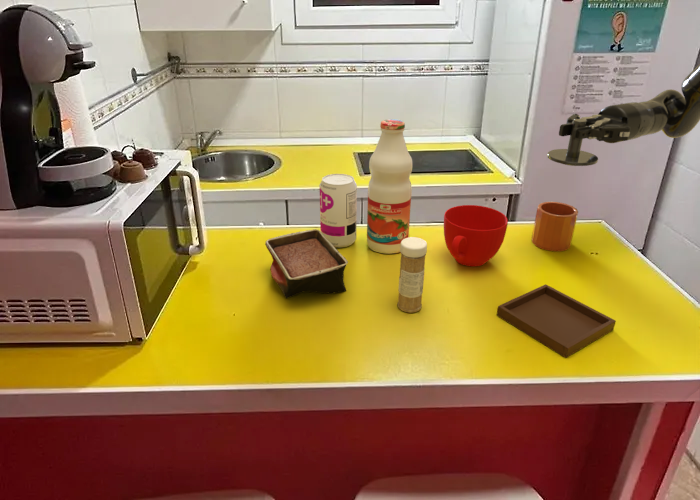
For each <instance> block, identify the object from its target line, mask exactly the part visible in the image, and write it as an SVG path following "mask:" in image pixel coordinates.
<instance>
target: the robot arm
mask: <svg viewBox="0 0 700 500" xmlns="http://www.w3.org/2000/svg"><path fill="white" fill-rule="evenodd" d="M680 87H681V92H680V91H678V90H677V89H676V90H675V89H666V90H665V89H664V90H663V91H661V92H660V93H658V94H656V95H655V96H653V98H651V99H648V100H647V101H646V100H645V101H640V102H639V101H638V102H635V101H634V102H633V101H632V102H631V101H630V102H625V103H620V104H612V105H608V106H605V107H603V108H602V109H601V110H600V111H599V112H598V113H597V114H592V115H590V116H582V117H581V116H580V114H578V113H573V114H572V115H570V116H569V117H568V118H566V123H563V124H560V126H559V130H558V136H560V137H568V136H570V133H571V128H572V123H573V120H574V119H583V120H586V121H587V122H586V126H583V127H577V128H574V129H573V133H572V139H573V140H579V139H583V140H585V139H588V140H597V141H598V142H605V143H607V144H617V143H621V142H622V143H623V142H626V141H627V142H628V141H630V140H636V139H638V138H640V137H644V136H649V135H653V134H657V133H659V132H661V131H662V133H663V134H664V135H665V136H666V137H668V138H671V139H678V138H681V137H683V136H686V135H687V134H689V133H690V132H691V131H692V130H694V128H696V126H697V125H698V124H699V122H700V63H699V64H698V65H697V66H696V67H695V68H694V69H693V70H692V71H691V72H689V74H688V75H687V76H686V77H685V78H684V79H683V81H682V82H681V86H680Z"/></svg>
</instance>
